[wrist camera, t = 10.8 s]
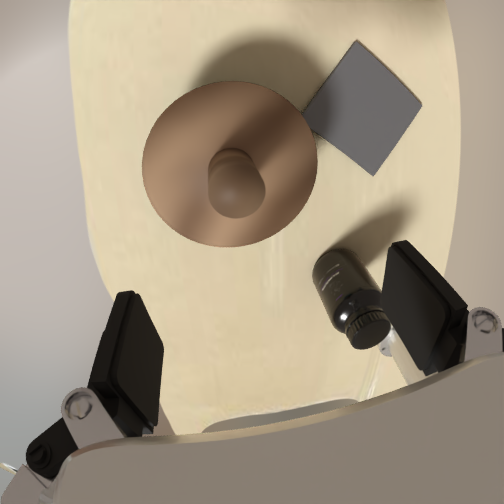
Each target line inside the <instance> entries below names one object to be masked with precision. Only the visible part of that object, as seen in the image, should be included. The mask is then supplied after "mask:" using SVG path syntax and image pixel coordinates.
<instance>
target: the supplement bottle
mask: <svg viewBox="0 0 504 504" xmlns="http://www.w3.org/2000/svg"><path fill="white" fill-rule="evenodd" d="M312 278H313V282H314V284H315V287H316V289H317V291H318V293H319V296H320V298H321V300H322V302H323V305H324V307H325V309H326V311H327V314H328V316H329V318H330V321H331V323H332V325H333V326H334V328H335V329H336V330H338V331H339V332H341V333H344V334H346V336H347V338H348V339H349V341H350V343H351V345H352V346H353V347H354V348H355V349H360V350H362V349H363V350H364V349H368V348H371V347H373V346H376V345H377V344H379V343H380V342H382V341H383V340H384V339H385V338H386V337H387V336H388V334H389V332H390V330H391V323H390V321H389V319H388V318H387V316H386V315H385V313H384V311H383V310H382V308H381V304H380V299H381V293H382V291H381V289H380V288H379V286H378V285H377V283H376V282H375V280H374V279H373V278H372V276H371V275H370V273H369V272H368V270H367V269H366V267H365V266H364V264H363V263H362V262H361V260H360V259H359V258H358V256H357V255H356V254H355V253H354V252H352V251H350V250H347V249H337V250H333V251H330V252H328V253H326V254H325V255H323V256H322V257H321V258H320V259H319V260H318V262H317V263H316V265H315V267H314V269H313V274H312Z"/></svg>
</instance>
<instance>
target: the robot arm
mask: <svg viewBox="0 0 504 504" xmlns="http://www.w3.org/2000/svg"><path fill="white" fill-rule="evenodd" d="M380 304H381V308H382V310H383V311H384V313H385V315H386V316H387V318H388V319H389V321H390V323H391V330H390V332H389V334H388V336H387V337H386V338H385V339H384V340H383V341H382V342H380V343H379V344H378V348H379V350H380V352H381V353H382V354H383V355H384V356H389V357H393V359H394V360H395V362H396V364H397V366H398V368H399V370H400V372H401V373H402V375H403V377H404V379H405V381H406V383H407V385H408V386H405V387H403V388H400V389H397V390H395V391H392V392H389V393H386V394H383V395H380V396H377V397H374V398H371V399H368V400H365V401H362V402H359V403H355V404H352V405H349V406H345V407H342V408H338V409H335V410H331V411H327V412H323V413H319V414H315V415H311V416H307V417H302V418H298V419H293V420H288V421H284V422H278V423H273V424H267V425H262V426H255V427H249V428H242V429H236V430H228V431H219V432H209V433H198V434H186V435H171V436H149V437H148V436H147V437H142V434H153V429H154V426H157V424H158V412H159V398H160V386H161V375H162V365H163V355H164V346H163V343H162V341H161V339H160V337H159V335H158V333H157V330H156V328H155V326H154V324H153V322H152V320H151V318H150V316H149V314H148V312H147V310H146V307H145V305H144V303H143V301H142V299H141V296H140V295H139V294H138V293H137V294H135V292H134V291H132V290H131V291H125V292H119V293H118V294H117V296H116V299H115V301H114V305H113V307H112V311H111V313H110V316H109V319H108V322H107V325H106V329H105V331H104V332H103V334H102V337H101V340H100V343H99V347H98V350H97V354H96V357H95V360H94V364H93V367H92V371H91V375H90V379H89V382H88V386H87V388H82V387H81V388H77V389H75V390H73V391H71V392H70V393H69V394H68V395H67V396H66V397H65V399H64V400H63V403H62V406H61V413H62V416H63V417H62V418H61V419H60V420H58V421H57V422H56V423H54V424H53V425H52V426H51V427H50V428H48V429H47V430H46V431H45V432H43V433H42V434H41V435H40V436H38V437H37V438H36V439H35V440H33V441H32V442H31V443H30V444H29V446H28V448H27V452H26V461H27V465H26V466H25V465H24V464H22V466H21V467H20V469H19V470H18V472H17V473H16V475H15V476H14V478H13V479H12V481H11V482H10V484H9V485H8V487H7V488H6V490H5V491H4V493H3V495H2V497H1V504H504V328H502V326H501V321H500V319H499V318H498V316H497V315H496V314H495V313H494V312H492V311H491V310H490V309H487V308H483V307H478V308H474V309H472V310H471V311H470V312H469V311H468V310H467V307H468V305H467V304H466V303H465V302H464V300H462V298H461V297H460V296H459V295H458V293H457V292H456V291H455V290H454V289H453V288H452V287H451V286H450V284H449V283H447V281H446V280H445V279H444V278H443V277H442V276H441V275H440V273H439V272H438V271H437V270H436V269H435V268H434V267H433V266H432V265H431V264H430V263H429V262H428V261H427V260H426V259H425V258H424V257H423V256H422V255H421V254H420V253H419V252H418V251H417V250H416V249H415V248H414V247H413V246H412V245H411V244H410V243H409V242H408V241H407V240H403V241H398V242H394V243H392V245H391V247H389V249H388V253H387V261H386V268H385V275H384V281H383V287H382V293H381V299H380Z"/></svg>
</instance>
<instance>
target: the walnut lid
mask: <svg viewBox="0 0 504 504" xmlns="http://www.w3.org/2000/svg"><path fill="white" fill-rule="evenodd" d="M317 162H318V160H317V149H316V145H315V140H314V137H313V135H312V132H311V130H310V128H309V126H308V124H307V122H306V120H305V119H304V117H303V116H302V115H301V113H300V112H299V111H298V110H297V109H296V108H295V107H294V106H293V105H292V104H291V103H290V102H289V101H288V100H286V99H285V98H284V97H282V96H281V95H279V94H278V93H276V92H274V91H272V90H270V89H268V88H265V87H263V86H260V85H256V84H252V83H248V82H238V81H226V82H217V83H212V84H208V85H205V86H202V87H199V88H196V89H194V90H192V91H190V92H188V93H186V94H184V95H183V96H181V97H180V98H178V99H177V100H176V101H174V102H173V103H172V104H171V105H170V106H169V107H168V108H167V109H166V110H165V111H164V112H163V113H162V114H161V116H160V117H159V118H158V119H157V121H156V122H155V124H154V126H153V127H152V129H151V131H150V133H149V136H148V138H147V140H146V144H145V148H144V151H143V159H142V175H143V182H144V186H145V190H146V193H147V196H148V198H149V200H150V202H151V204H152V206H153V208H154V209H155V211H156V212H157V214H158V215H159V216H160V217H161V218H162V220H163V221H164V222H165V223H166V224H167V225H169V226H170V227H171V228H172V229H173V230H175V231H176V232H178V233H179V234H180V235H182V236H184V237H186V238H188V239H190V240H192V241H195V242H198V243H201V244H205V245H209V246H215V247H239V246H245V245H250V244H253V243H256V242H259V241H262V240H264V239H266V238H269V237H271V236H272V235H274V234H276V233H278V232H279V231H281V230H282V229H283V228H284V227H286V226H287V225H288V224H289V223H290V222H291V221H292V220H293V219H295V217H296V216H297V215H298V214H299V213H300V211H301V210H302V209H303V207H304V206H305V204H306V202H307V201H308V199H309V197H310V194H311V192H312V190H313V186H314V183H315V179H316V174H317Z"/></svg>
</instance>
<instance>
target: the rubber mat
mask: <svg viewBox="0 0 504 504" xmlns="http://www.w3.org/2000/svg"><path fill="white" fill-rule="evenodd" d="M421 107H422V105H421V104H420V103H419V102H418V100H417V99H416V98H415V97H414V96H413V95H412V94H411V93H410V92H409V91H408V90H407V89H406V87H405V86H404V85H403V84H402V83H401V82H400V81H399V80H398V79H397V78H396V77H395V76H394V75H393V74H392V73H391V72H390V71H389V70H388V69H387V68H386V67H385V66H383V65H382V64H381V63H380V62H379V61H378V60H377V59H376V58H375V57H374V56H373V55H371V54H370V53H369V52H368V51H367V50H366V49H365V48H364V47H362V46H361V45H360V44H359V43H358V42H354V43H353V44H352V45H351V47H350V48H349V49H348V51H347V52H346V54H345V55H344V56H343V58H342V59H341V60H340V62H339V63H338V64H337V66H336V67H335V69H334V70H333V71H332V73H331V74H330V75H329V77H328V78H327V80H326V81H325V82H324V84H323V85H322V87H321V88H320V89H319V91H318V92H317V94H316V95H315V96H314V98H313V99H312V101H311V102H310V104H309V105H308V106H307V108H306V109H305V111H304V112H303V114H302V116H303V117H304V119H305V120H306V122H307V124H308V126H309V128H310V129H312V130H313V131H314V132H316V133H317V134H319V135H320V136H321V137H323V138H324V139H326V140H327V141H328V142H330V143H331V144H332V145H334V146H335V147H336V148H338V149H339V150H340V151H342V152H343V153H344V154H346V155H347V156H348V157H349V158H351V159H352V160H353V161H355V162H356V163H357V164H358V165H360V166H361V167H362V168H363V169H365V170H366V171H367V172H368V173H369V174H371V175H372V176H374V175H375V174H376V172H377V171H378V169H379V168H380V167H381V165H382V164H383V162H384V161H385V160H386V158H387V157H388V155H389V154H390V153H391V151H392V150H393V148H394V147H395V145H396V144H397V143H398V141H399V140H400V138H401V137H402V135H403V134H404V132H405V131H406V129H407V128H408V127H409V125H410V124H411V122H412V121H413V119H414V118H415V116H416V115H417V113H418V112H419V110H420V109H421Z"/></svg>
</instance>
